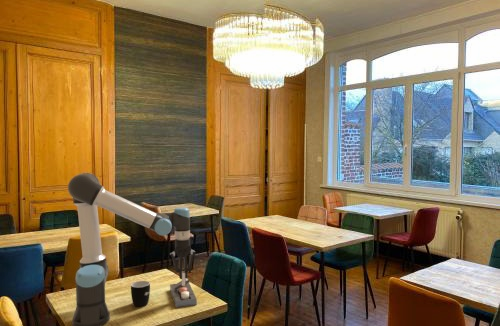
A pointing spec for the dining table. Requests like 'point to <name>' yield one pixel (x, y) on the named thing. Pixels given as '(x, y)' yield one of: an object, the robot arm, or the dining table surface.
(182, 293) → the cream button
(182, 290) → the red button
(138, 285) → the mug
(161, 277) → the dining table surface
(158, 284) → the dining table surface
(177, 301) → the panel
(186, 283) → the rocker
